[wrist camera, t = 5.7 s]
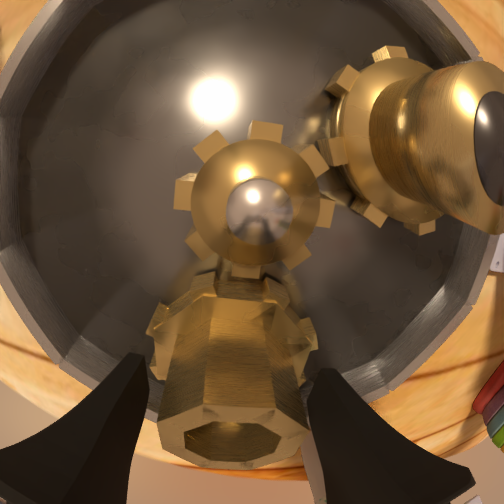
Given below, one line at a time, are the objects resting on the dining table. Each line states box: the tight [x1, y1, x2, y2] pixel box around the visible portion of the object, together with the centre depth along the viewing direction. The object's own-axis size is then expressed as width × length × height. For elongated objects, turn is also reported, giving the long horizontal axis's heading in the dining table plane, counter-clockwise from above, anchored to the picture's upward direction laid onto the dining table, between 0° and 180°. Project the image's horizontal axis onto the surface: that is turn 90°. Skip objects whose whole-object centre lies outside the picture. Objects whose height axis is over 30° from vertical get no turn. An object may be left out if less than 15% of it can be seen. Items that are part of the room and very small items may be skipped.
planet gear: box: [146, 271, 318, 470], centre depth 9 cm, size 7×7×5 cm
